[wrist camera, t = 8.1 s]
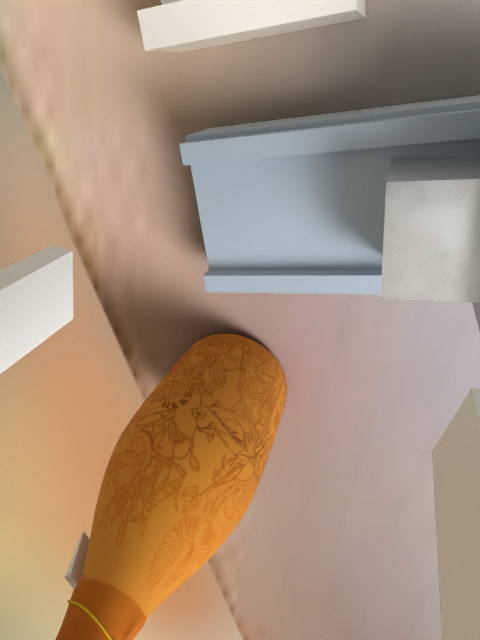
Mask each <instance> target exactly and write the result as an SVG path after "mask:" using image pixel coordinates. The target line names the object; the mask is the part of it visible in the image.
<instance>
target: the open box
mask: <svg viewBox="0 0 480 640" xmlns="http://www.w3.org/2000/svg"><path fill="white" fill-rule="evenodd" d="M185 137H186V142H183V143H180V144H179V146H180V151H181V157H182V162H183V165H191V171H192V177H193V182H194V188H195V194H196V199H197V205H198V211H199V216H200V222H201V228H202V233H203V239H204V244H205V250H206V256H207V261H208V267H209V270H208V271H207V272H206V274H205V275H204V282H205V287H206V292H225V293H305V294H381V281H382V260H383V239H384V218H385V196H386V181H387V176H388V171H389V166H390V161H391V159H401V158H421V157H440V156H460V155H479V154H480V95H475V96H466V97H458V98H450V99H442V100H433V101H425V102H417V103H409V104H401V105H392V106H384V107H376V108H368V109H359V110H351V111H343V112H335V113H327V114H318V115H310V116H302V117H294V118H285V119H277V120H269V121H261V122H253V123H244V124H236V125H228V126H220V127H211V128H208V129H205V130H202V131H199V132H196V133H193V134H190V135H187V136H185ZM472 303H473V307H474V310H475V314H476V318H477V322H478V326H479V330H480V303H477V302H472Z"/></svg>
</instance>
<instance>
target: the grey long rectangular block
mask: <svg viewBox="0 0 480 640" xmlns="http://www.w3.org/2000/svg"><path fill="white" fill-rule="evenodd" d="M381 298H385V299H408V300H431V301H454V302H477V303H480V154H479V155H460V156H440V157H421V158H401V159H391V161H390V166H389V171H388V176H387V181H386V196H385V218H384V239H383V260H382V281H381Z"/></svg>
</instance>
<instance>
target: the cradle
mask: <svg viewBox="0 0 480 640" xmlns="http://www.w3.org/2000/svg"><path fill="white" fill-rule="evenodd" d="M137 14H138V19H139V24H140V29H141V34H142V39H143V44H144V49H145V51H165V52H187V51H193V50H198V49H203V48H209V47H214V46H220V45H225V44H230V43H236V42H241V41H246V40H252V39H257V38H262V37H268V36H273V35H278V34H284V33H289V32H294V31H300V30H305V29H310V28H316V27H321V26H326V25H332V24H337V23H342V22H348V21H353V20H358V19H364V18H366V5H365V0H161V5H159V6H155V7H151V8H146V9H142V10H138V11H137Z"/></svg>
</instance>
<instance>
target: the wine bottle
mask: <svg viewBox="0 0 480 640" xmlns="http://www.w3.org/2000/svg"><path fill="white" fill-rule="evenodd" d="M286 396H287V384H286V378H285V375H284V372H283V370H282V368H281V366H280V364H279V363H278V361H277V360H276V359H275V357H274V356H273V355H272V354H271V353H270V352H269V351H268V350H267V349H266V348H264V347H263V346H262V345H260V344H259V343H257V342H255V341H253V340H251V339H249V338H246V337H243V336H240V335H235V334H227V333H221V334H214V335H210V336H207V337H205V338H203V339H201V340H199V341H198V342H196V343H195V344H194V345H193V346H191V347H190V348H189V349H188V350H187V351H186V353H185V354H184V355H183V356H182V357H181V358H180V359H179V361H178V362H177V363H176V364H175V365H174V366H173V368H172V369H171V370H170V371H169V372H168V374H167V375H166V376H165V377H164V378H163V380H162V381H161V382H160V383H159V384H158V386H157V387H156V388H155V389H154V391H153V392H152V393H151V394H150V396H149V397H148V398H147V399H146V401H145V402H144V403H143V405H142V406H141V407H140V409H139V410H138V411H137V413H136V414H135V415H134V417H133V418H132V419H131V421H130V423H129V424H128V425H127V427H126V428H125V430H124V432H123V433H122V435H121V436H120V438H119V440H118V442H117V444H116V446H115V449H114V451H113V453H112V455H111V458H110V460H109V463H108V466H107V469H106V472H105V475H104V478H103V482H102V485H101V489H100V493H99V497H98V501H97V505H96V510H95V515H94V520H93V525H92V531H91V536H90V539H89V538H88V536H87V535H86V534H85V533H84V532H83V533H82V535H81V538H80V540H79V543H78V545H77V548H76V550H75V553H74V555H73V558H72V561H71V563H70V566H69V568H68V571H67V573H66V576H65V578H66V579H67V581H68V582H69V583H70V584H71V586H72V587H73V588H74V591H73V594H72V597H71V600H68V603H69V606H68V609H67V612H66V615H65V617H64V620H63V623H62V626H61V628H60V631H59V633H58V635H57V637H56V640H133V639H134V637H135V636H136V635H137V633H138V632H139V631H140V630H141V628H142V627H143V625H144V623H145V621H146V619H147V618H148V617H149V615H150V614H151V613H152V612H153V611H154V610H155V609H156V608H157V607H158V606H159V605H160V604H161V603H162V602H163V601H164V600H166V599H167V598H168V597H169V596H170V595H171V594H172V593H173V592H174V591H175V590H176V589H177V588H178V587H179V586H180V585H182V584H183V583H184V582H185V581H186V580H187V579H188V578H189V577H190V576H191V575H192V574H194V573H195V572H196V571H197V570H198V569H199V568H200V567H201V566H202V565H203V564H204V563H205V562H206V561H207V560H208V559H209V558H210V557H211V556H212V555H213V554H214V553H215V552H216V551H217V549H218V548H219V547H220V546H221V545H222V544H223V543H224V541H225V540H226V539H227V538H228V536H229V535H230V534H231V533H232V531H233V530H234V529H235V527H236V526H237V525H238V523H239V522H240V520H241V519H242V517H243V515H244V514H245V512H246V510H247V508H248V506H249V504H250V502H251V500H252V498H253V496H254V494H255V491H256V489H257V486H258V484H259V481H260V478H261V476H262V473H263V470H264V467H265V464H266V462H267V459H268V456H269V453H270V450H271V447H272V444H273V441H274V438H275V435H276V432H277V429H278V426H279V423H280V419H281V416H282V413H283V409H284V406H285V402H286Z"/></svg>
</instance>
